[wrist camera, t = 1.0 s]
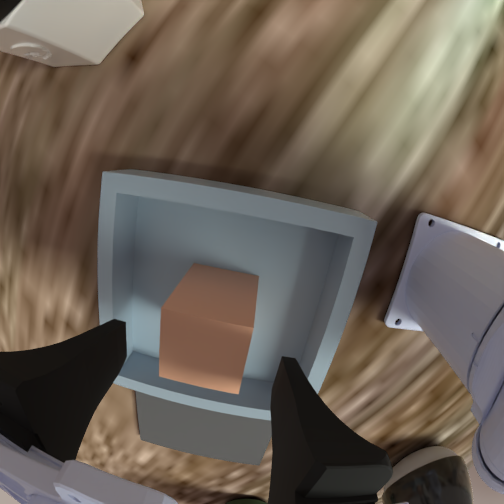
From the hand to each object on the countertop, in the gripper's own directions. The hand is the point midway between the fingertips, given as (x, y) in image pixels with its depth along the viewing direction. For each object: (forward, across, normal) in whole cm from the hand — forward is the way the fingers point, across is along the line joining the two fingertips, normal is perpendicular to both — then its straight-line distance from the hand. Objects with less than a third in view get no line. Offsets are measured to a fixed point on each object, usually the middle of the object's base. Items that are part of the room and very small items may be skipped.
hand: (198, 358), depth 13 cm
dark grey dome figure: (+7, -25, +18) cm, 32 cm away
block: (+6, 0, 0) cm, 6 cm away
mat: (+7, 0, +13) cm, 15 cm away
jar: (+7, +13, -18) cm, 23 cm away
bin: (+7, 0, 0) cm, 7 cm away
